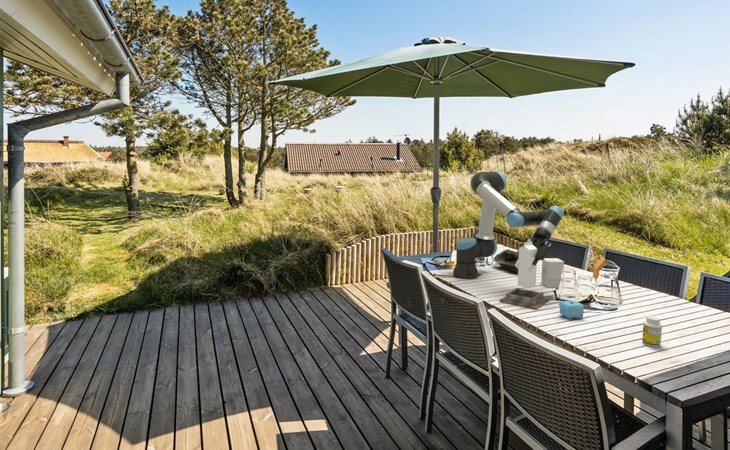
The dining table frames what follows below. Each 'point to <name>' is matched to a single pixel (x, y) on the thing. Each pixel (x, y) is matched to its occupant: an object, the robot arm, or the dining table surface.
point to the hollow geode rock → (507, 259)
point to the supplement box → (552, 272)
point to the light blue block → (571, 309)
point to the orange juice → (599, 267)
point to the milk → (526, 265)
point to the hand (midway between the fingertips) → (522, 268)
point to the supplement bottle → (652, 331)
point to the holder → (525, 298)
